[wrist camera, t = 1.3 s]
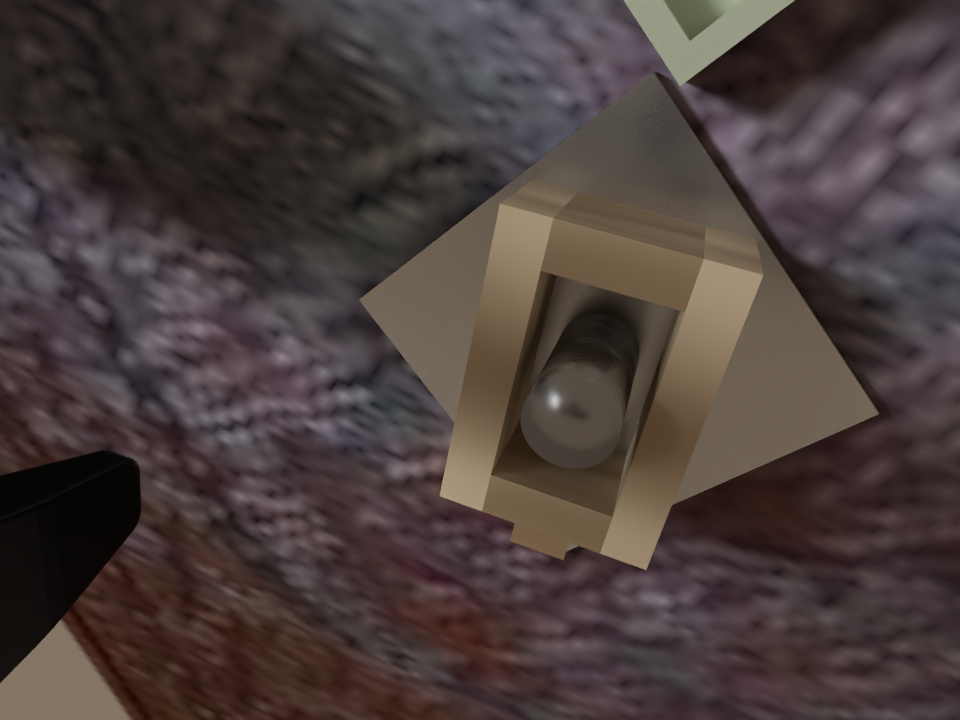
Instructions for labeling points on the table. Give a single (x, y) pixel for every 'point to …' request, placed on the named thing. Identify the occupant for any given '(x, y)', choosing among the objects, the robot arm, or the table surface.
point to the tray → (699, 28)
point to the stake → (629, 314)
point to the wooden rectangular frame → (673, 392)
